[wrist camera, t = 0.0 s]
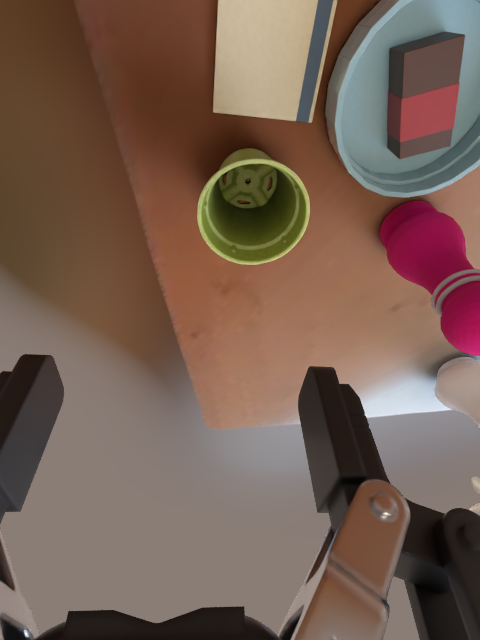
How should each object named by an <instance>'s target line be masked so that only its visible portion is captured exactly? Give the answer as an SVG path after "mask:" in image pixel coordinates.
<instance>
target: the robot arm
mask: <svg viewBox="0 0 480 640" xmlns="http://www.w3.org/2000/svg"><path fill="white" fill-rule="evenodd" d="M63 397H64V387H63V384H62V381H61V378H60V375H59V372H58V370H57V367H56V364H55V361H54V358H53V357H52V356H51V355H31V354H30V355H28V354H25V355H22V356H21V357H20V358H19V360H18V362H17V364H16V365H15V367H14V369H13V371H12V372H7V371H3V372H1V373H0V523H1V521H2V518H3V516H4V513H5V512H18V511H19V512H20V511H21V509H22V506H23V504H24V501H25V498H26V496H27V493H28V490H29V488H30V485H31V483H32V480H33V478H34V475H35V473H36V470H37V468H38V465H39V462H40V460H41V457H42V454H43V452H44V449H45V447H46V444H47V442H48V439H49V437H50V434H51V431H52V429H53V426H54V424H55V421H56V419H57V416H58V413H59V411H60V408H61V405H62V402H63ZM298 410H299V416H300V421H301V427H302V432H303V438H304V443H305V448H306V454H307V459H308V464H309V470H310V475H311V480H312V485H313V491H314V497H315V502H316V507H317V512H318V513H329V516H330V521H331V526H330V528H329V530H328V532H327V534H326V537H325V539H324V541H323V543H322V545H321V547H320V549H319V551H318V554H317V556H316V558H315V560H314V562H313V564H312V566H311V568H310V571H309V573H308V575H307V577H306V579H305V581H304V584H303V585H302V587H301V589H300V591H299V593H298V594H297V597H296V598H295V600H294V601H293V603H292V605H291V607H290V609H289V611H288V613H287V616H286V618H285V620H284V622H283V624H282V626H281V628H280V630H279V632H278V635H276V634H275V633H274V632H273V631H272V630H271V629H269V628H268V627H266V626H265V625H264V624H262V623H261V622H259V621H257V620H255V619H253V618H251V617H248V616H245V615H244V607H212V608H211V607H210V608H200V609H198V610H195V611H192V612H189V613H186V614H184V615H181V616H178V617H175V618H173V619H170V620H167V621H164V622H162V623H152V622H149V621H146V620H143V619H139V618H136V617H133V616H130V615H127V614H124V613H121V612H117V611H115V610H98V611H69V612H68V616H67V620H66V622H64V623H61V624H59V625H57V626H55V627H53V628H51V629H49V630H47V631H46V632H44V633H42V634H41V635H40V634H39V632H38V628H37V625H36V622H35V619H34V617H33V614H32V612H31V610H30V607H29V605H28V603H27V602H26V600H25V599H24V597H23V595H22V593H21V590H20V588H19V584H18V581H17V578H16V575H15V572H14V569H13V566H12V563H11V559H10V556H9V553H8V550H7V547H6V544H5V541H4V538H3V535H2V532H1V529H0V640H383V637H384V634H385V630H386V627H387V623H388V619H389V605H388V603H387V596H388V591H389V588H390V585H391V581H392V578H393V576H395V577H398V578H400V579H403V580H404V581H405V585H406V589H407V592H408V596H409V600H410V604H411V608H412V611H413V615H414V619H415V622H416V626H417V630H418V634H419V638H420V640H480V516H479V515H478V514H476V513H474V512H472V511H470V510H467V509H463V508H456V509H452V510H450V511H449V512H447V513H446V514H444V513H441V512H438V511H435V510H432V509H429V508H426V507H424V506H420V505H418V504H415V503H413V502H411V501H409V500H407V499H406V498H404V497H403V495H402V494H401V493H400V492H399V491H398V490H397V489H396V488H395V487H394V486H393V485H391V484H390V482H389V480H388V478H387V476H386V474H385V471H384V468H383V465H382V462H381V459H380V456H379V453H378V450H377V447H376V444H375V441H374V439H373V436H372V433H371V430H370V429H369V424H368V421H367V418H366V416H365V415H364V413H365V412H364V409H363V407H362V404H361V401H360V398H359V397H358V395H357V394H356V393H355V392H354V390H353V389H352V388H351V386H350V385H349V384H339V381H338V378H337V375H336V371H335V369H334V368H333V367H315V366H310V367H309V368H308V371H307V373H306V376H305V379H304V382H303V385H302V388H301V391H300V394H299V399H298Z"/></svg>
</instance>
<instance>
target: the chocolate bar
mask: <svg viewBox="0 0 480 640" xmlns="http://www.w3.org/2000/svg"><path fill="white" fill-rule="evenodd" d="M464 41H465V35H464V34H458V33H452V32H446V31H445V32H441V33H438V34H435V35H432V36H428V37H425V38H422V39H418V40H415V41H412V42H408V43H405V44H402V45H398V46H395V47H392V48H390V50H389V91H388V108H387V132H388V140H387V148H388V149H389V150H390V151H391V152H392V153H393V154H394V155H395V156H396V157H397V158H398V159H403V158H407V157H411V156H415V155H419V154H422V153H426V152H430V151H434V150H438V149H442V148H446V147H449V146H451V138H452V131H453V128H454V122H455V114H456V107H457V99H458V92H459V85H460V83H459V78H460V71H461V63H462V56H463V48H464Z"/></svg>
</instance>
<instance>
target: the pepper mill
mask: <svg viewBox="0 0 480 640" xmlns="http://www.w3.org/2000/svg"><path fill="white" fill-rule="evenodd" d="M380 239H381V242H382V244H383V245H384V247H385V248H386V250H387V258H388V261H389V264H390V265H391V266H392V267H393V269H394V270H395V271H396V272H397V273H398V274H399V275H400V276H402V277H403V278H405V279H407V280H408V281H411V282H413V283H416V284H418V285H420V286H422V287H424V288H425V289H427V290H428V291H429V292H430V293H431V295H432V298H431V303H432V307H433V308H434V310H435V311H436V312H437V314H438V316H439V317H440V318H441V330H442V332H443V334H444V336H445V338H446V339H447V340H448V341H449V342H450V343H451V344H452V345H453V346H454V347H455V348H457V349H458V350H460V351H462V352H465V353H467V354H471V355H479V356H480V270H479V269H474V268H473V267H472V265H471V264H470V263H469V261H468V260H467V258H466V247H465V238H464V235H463V232H462V230H461V228H460V226H459V225H458V224H457V223H456V221H455V220H454V219H453V218H452V217H450V216H448V215H446V214H444V213H440V212H438V211H437V210H436V209H435V208H434V207H433V206H432V205H430V204H429V203H427V202H424V201H410V202H407V203H404V204H401V205H400V206H398V207H396V208H395V209H393V210H392V211H391V212H390V213H389V214H388V215H387V216H386V218H385V219H384V221H383V223H382V225H381V228H380Z"/></svg>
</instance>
